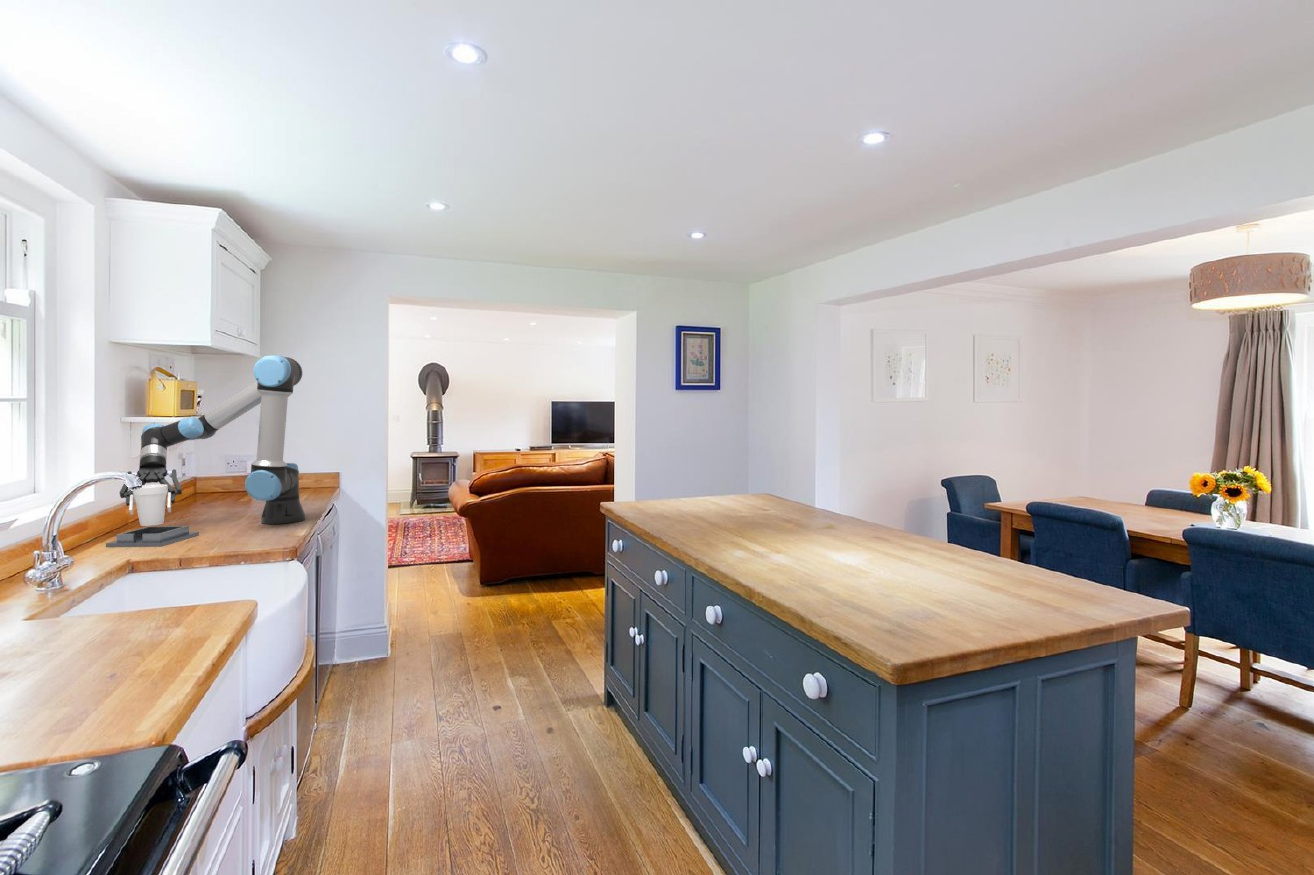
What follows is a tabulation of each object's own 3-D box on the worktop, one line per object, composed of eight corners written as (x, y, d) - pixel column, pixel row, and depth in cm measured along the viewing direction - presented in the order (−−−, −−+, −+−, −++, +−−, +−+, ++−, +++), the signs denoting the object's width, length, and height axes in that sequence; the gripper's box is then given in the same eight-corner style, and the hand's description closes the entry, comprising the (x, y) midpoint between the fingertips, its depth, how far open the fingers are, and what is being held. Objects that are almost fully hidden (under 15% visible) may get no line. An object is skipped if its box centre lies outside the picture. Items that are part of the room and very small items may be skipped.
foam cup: (175, 522, 225) (174, 485, 225) (147, 527, 217) (145, 488, 216) (156, 520, 229) (154, 483, 228) (127, 525, 220) (125, 487, 219)
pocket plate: (147, 535, 232) (147, 525, 232) (198, 535, 232) (198, 524, 232) (105, 547, 214) (105, 535, 214) (161, 546, 214) (160, 535, 214)
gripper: (192, 465, 241) (191, 514, 228) (114, 469, 228) (109, 520, 216) (190, 452, 236) (189, 501, 223) (111, 455, 224) (106, 507, 211)
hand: (150, 511), depth 220 cm, fingers closed on foam cup, 9 cm apart
